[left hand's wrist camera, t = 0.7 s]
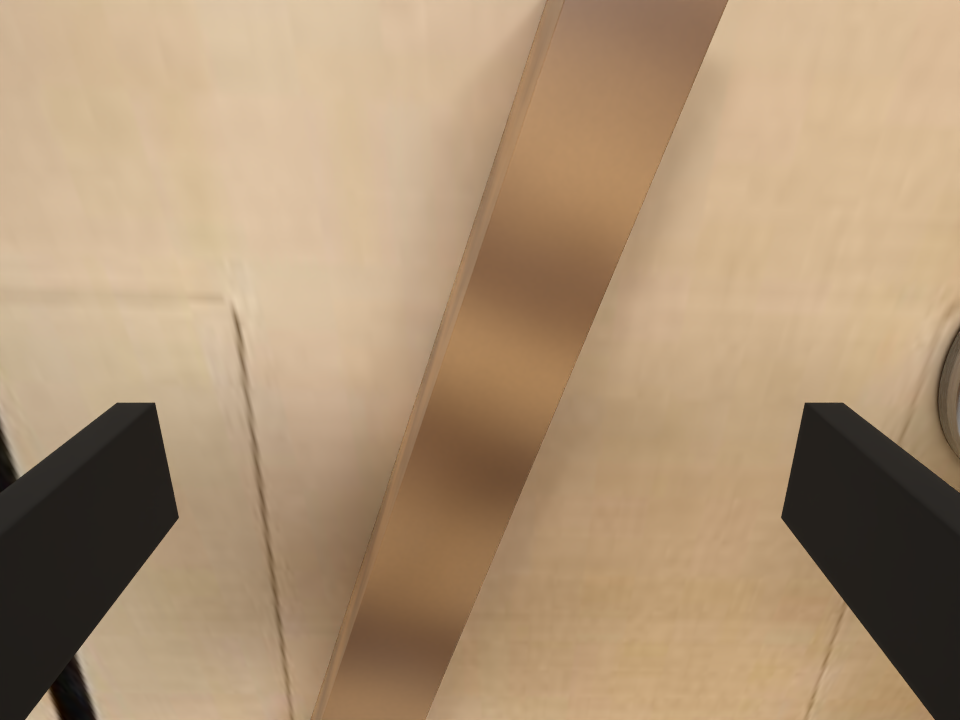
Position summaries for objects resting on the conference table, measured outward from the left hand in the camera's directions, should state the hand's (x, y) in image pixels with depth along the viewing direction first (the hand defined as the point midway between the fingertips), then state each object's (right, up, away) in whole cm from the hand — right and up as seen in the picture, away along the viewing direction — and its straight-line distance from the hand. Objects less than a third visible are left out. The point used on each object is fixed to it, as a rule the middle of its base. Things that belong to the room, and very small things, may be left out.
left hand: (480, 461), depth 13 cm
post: (-4, -8, +24) cm, 25 cm away
